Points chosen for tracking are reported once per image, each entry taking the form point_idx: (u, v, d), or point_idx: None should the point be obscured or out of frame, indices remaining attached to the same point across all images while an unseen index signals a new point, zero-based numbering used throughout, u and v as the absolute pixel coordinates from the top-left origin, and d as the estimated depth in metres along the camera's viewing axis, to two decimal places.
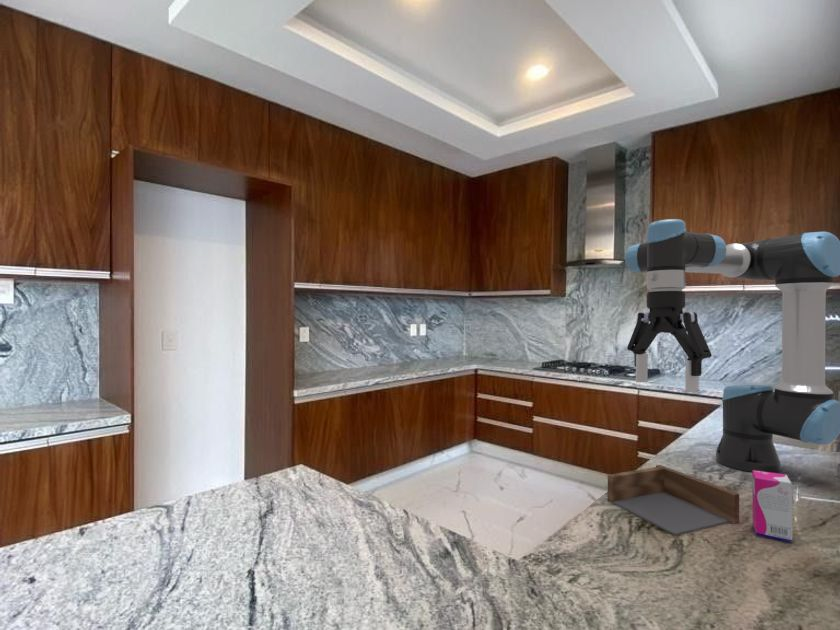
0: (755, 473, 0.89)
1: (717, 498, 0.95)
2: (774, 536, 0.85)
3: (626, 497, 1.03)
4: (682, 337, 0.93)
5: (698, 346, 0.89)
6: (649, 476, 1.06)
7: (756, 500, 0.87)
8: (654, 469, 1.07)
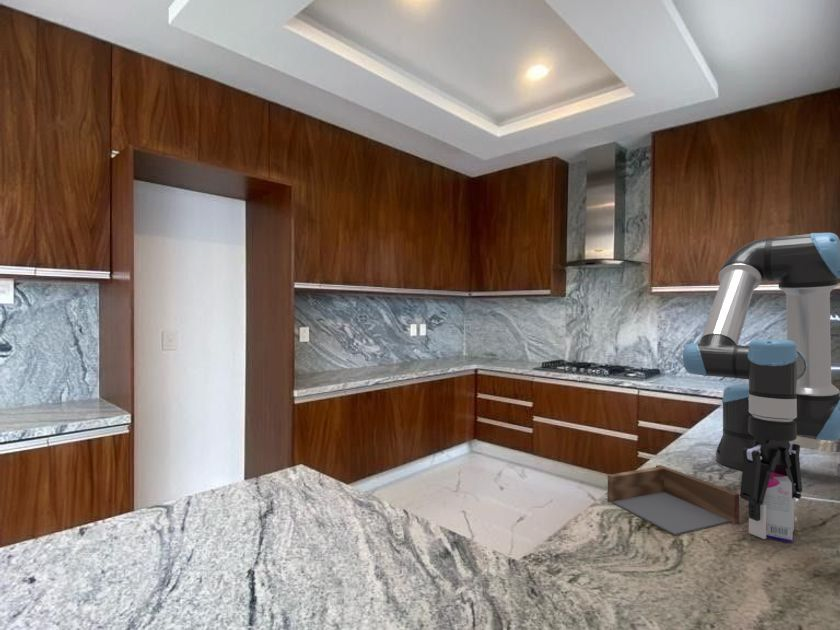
0: None
1: (717, 498, 0.95)
2: (774, 536, 0.85)
3: (626, 497, 1.03)
4: None
5: None
6: (649, 476, 1.06)
7: None
8: (654, 469, 1.07)
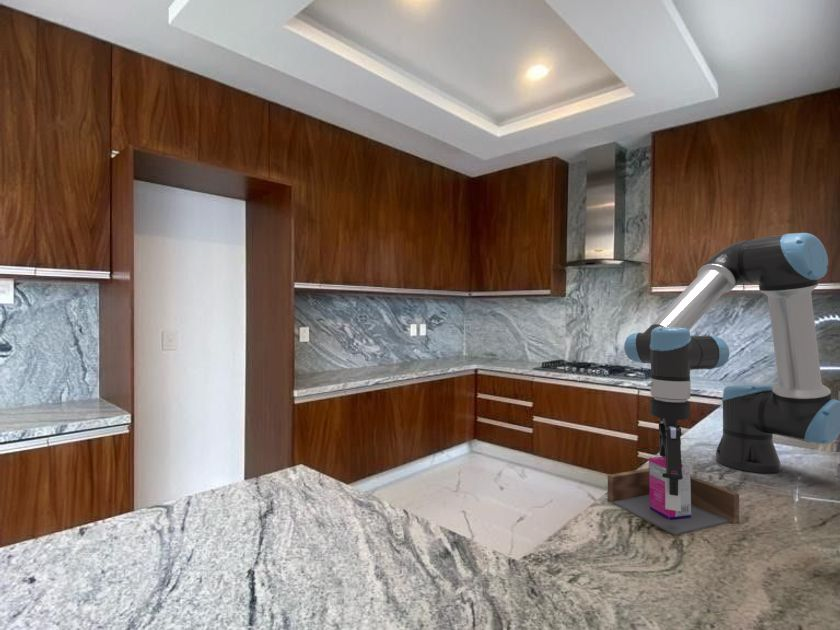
0: (658, 461, 0.96)
1: (717, 498, 0.95)
2: (680, 515, 0.93)
3: (626, 497, 1.03)
4: None
5: (668, 465, 0.88)
6: None
7: None
8: None
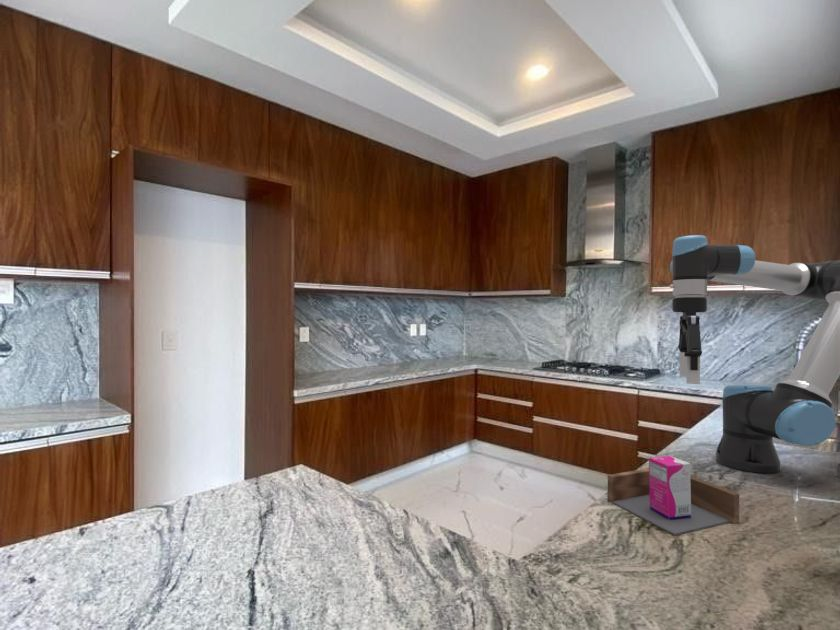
0: (658, 461, 0.96)
1: (717, 498, 0.95)
2: (680, 515, 0.93)
3: (626, 497, 1.03)
4: (688, 337, 1.09)
5: (689, 344, 1.05)
6: None
7: (668, 486, 0.93)
8: None
